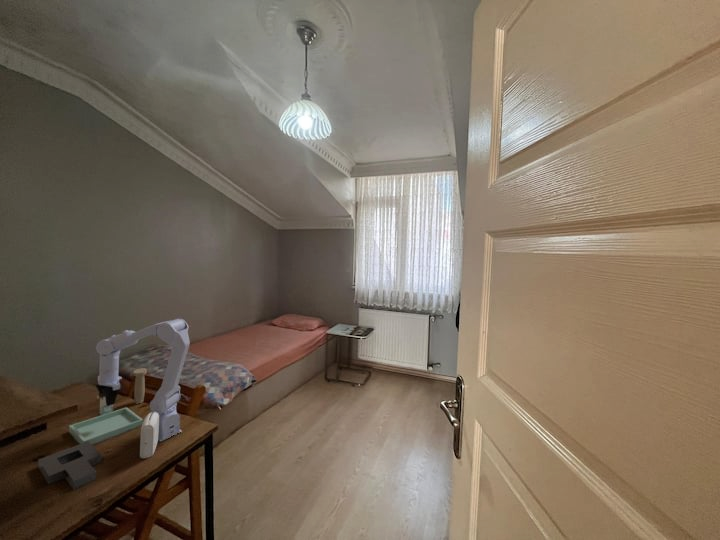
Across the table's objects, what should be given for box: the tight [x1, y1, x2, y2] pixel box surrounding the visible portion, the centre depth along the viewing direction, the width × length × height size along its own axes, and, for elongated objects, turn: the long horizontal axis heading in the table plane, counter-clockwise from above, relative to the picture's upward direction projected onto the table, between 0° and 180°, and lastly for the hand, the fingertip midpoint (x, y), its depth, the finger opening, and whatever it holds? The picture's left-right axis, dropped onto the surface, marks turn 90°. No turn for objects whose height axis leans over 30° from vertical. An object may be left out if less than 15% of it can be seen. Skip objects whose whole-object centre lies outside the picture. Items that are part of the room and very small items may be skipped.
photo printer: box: [139, 411, 159, 459], centre depth 104 cm, size 10×4×12 cm, turn 25°
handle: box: [133, 367, 148, 405], centre depth 135 cm, size 5×6×15 cm
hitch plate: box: [37, 441, 102, 490], centre depth 92 cm, size 20×12×2 cm, turn 58°
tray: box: [68, 406, 144, 446], centre depth 114 cm, size 16×18×2 cm
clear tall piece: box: [96, 393, 115, 415], centre depth 114 cm, size 6×4×8 cm, turn 157°
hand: (107, 403), depth 114 cm, fingers closed on clear tall piece, 4 cm apart
